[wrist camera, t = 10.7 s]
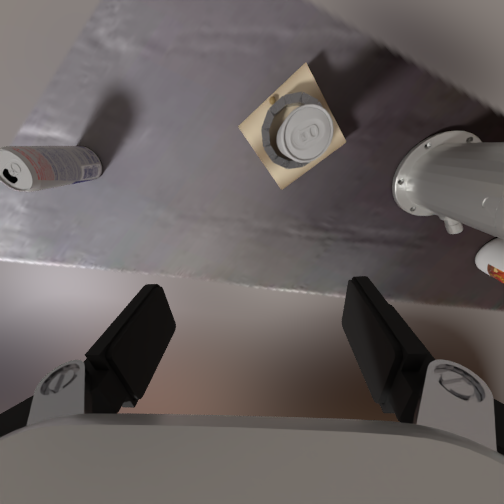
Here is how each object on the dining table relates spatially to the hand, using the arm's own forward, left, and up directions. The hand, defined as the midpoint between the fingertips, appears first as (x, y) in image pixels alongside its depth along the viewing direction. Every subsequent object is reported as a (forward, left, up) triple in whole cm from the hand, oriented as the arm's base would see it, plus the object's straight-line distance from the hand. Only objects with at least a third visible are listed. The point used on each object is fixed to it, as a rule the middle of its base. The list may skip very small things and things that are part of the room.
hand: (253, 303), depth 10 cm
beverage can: (+4, -8, -26) cm, 27 cm away
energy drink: (+22, +22, -29) cm, 42 cm away
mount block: (+4, -8, -29) cm, 30 cm away
